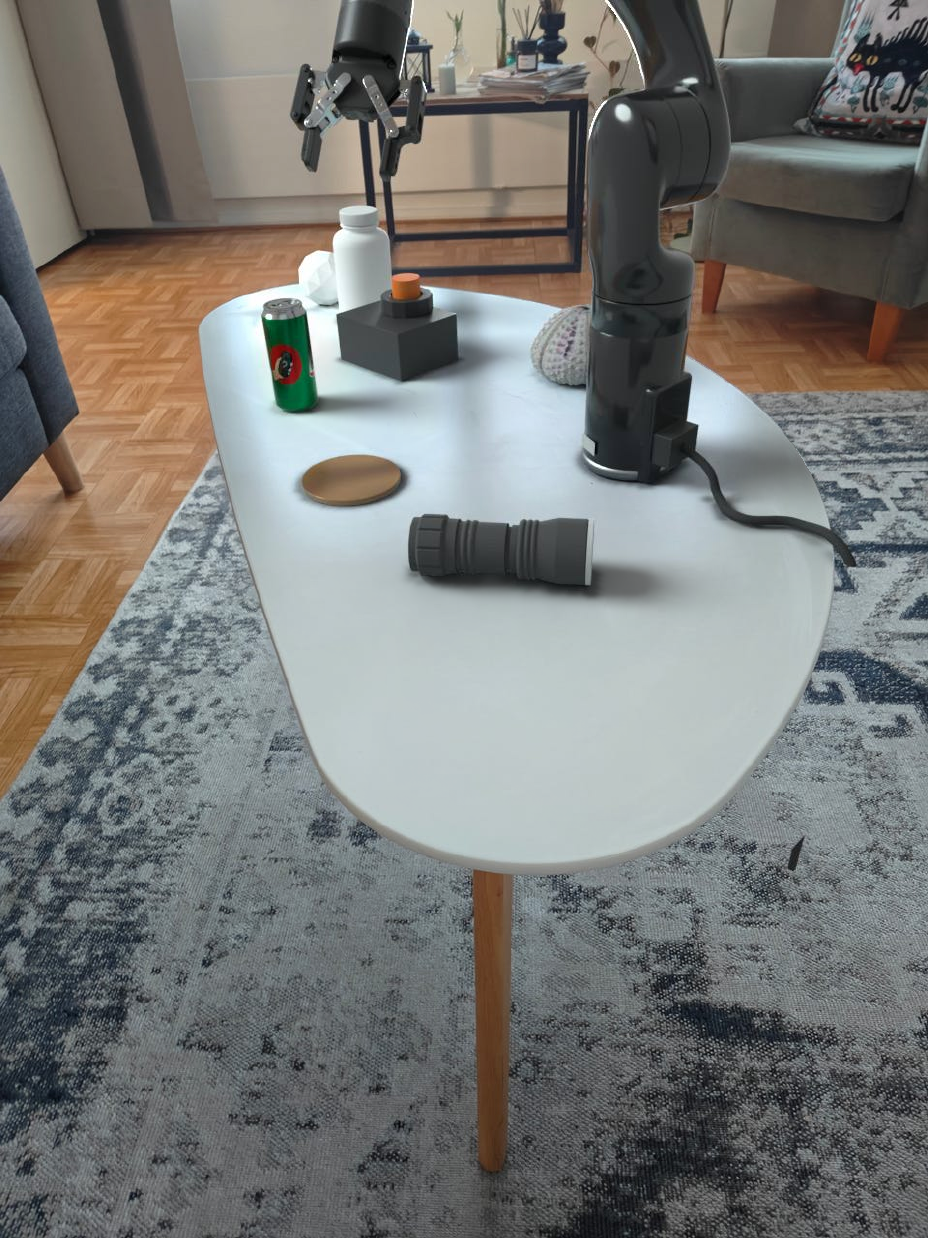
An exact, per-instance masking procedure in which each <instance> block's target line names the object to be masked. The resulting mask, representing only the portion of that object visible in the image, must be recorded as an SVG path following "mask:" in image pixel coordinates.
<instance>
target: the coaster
mask: <svg viewBox="0 0 928 1238" xmlns="http://www.w3.org/2000/svg"><path fill="white" fill-rule="evenodd" d="M300 481H301V483H300V484H301V489H302V492H303V494H305V496H307V498H309V499H311V500H313V501H315V502H316V503H319V504H324V505H329V506H337V507H338V506H339V507H348V506H349V507H350V506H359V505H360V506H361V505H366V504H370V503H373V502H376V501H379V500H381V499H383V498H385V497H388V496H389V495H391V494H393V493H394V492H395V491H396V490H397V489H398V487H399V486H400V485H401V481H402V473H401V470H400V468H399V467H398V465H397V464H396V463H395V462H393V461H391V460H390V459H387V458H385V457H381V456H378V455H370V454H347V455H339V456H335V457H331V458H328V459H324V460H322V461H319V462H318V463H315V464H313V465H312V466H311V467H309V468H308V469H307V470H306V471H305V472H304V473H303V475H302V477H301V480H300Z"/></svg>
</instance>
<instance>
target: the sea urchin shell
mask: <svg viewBox="0 0 928 1238" xmlns="http://www.w3.org/2000/svg"><path fill="white" fill-rule="evenodd" d="M590 310H591V303H590V304H589V303H585V304H583V303H582V304H580V305H579V304H578V305H572V306H567V307H565V308H563V309H561V310H559V311H558V312H556V313H554V314H553V316H552V317H549V318H548V320H547V322H545V323H543V326H542V328H541V329H539V332H538V334H537V335H536V337H534V339H533V342H532V343H531V347H530V350H529V351H530V355H529V356H530V358H531V363H532V367H533V368H534V369H535V371H536V373H540V375H541V376H542V377H543V378H547V379H549V380H550V381H551V382H554V383H558V384H559V385H560V384H562V385H566V384H567V385H569V386H573V385H574V386H579V385H586V386H587V367H588V347H589V328H590Z"/></svg>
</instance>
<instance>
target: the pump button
mask: <svg viewBox="0 0 928 1238" xmlns="http://www.w3.org/2000/svg"><path fill="white" fill-rule="evenodd" d="M391 283H392V296H393V298H395V299H404V300H406V299H415V298H418V297H421V292H420V287H421V277H420V275H419V274H417V273H411V272H403V273H396V274H394V275H392V277H391Z"/></svg>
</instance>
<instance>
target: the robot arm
mask: <svg viewBox="0 0 928 1238" xmlns="http://www.w3.org/2000/svg"><path fill="white" fill-rule="evenodd" d="M605 2H606V3H607V4H608V6H609V7H610V8H611V10H612V11H613V12H614V14H615V15H616V17H617V18H618V20H619V22H620V23H621V24H622V26H623V28H624V30H625V31H626V33H627V35H628V37H629V39H630V42H631V44H632V47H633V49H634V52H635V54H636V58H637V61H638V64H639V69H640V73H641V77H642V81H643V85H644V89H637V90H632V91H631V90H630V91H624V92H619V93H618V94H613V95H612V96H610V97H609V98H607V99H606V100H605V101H604V102H603V103H602V104H601V106H600V107H599V108H598V110H597V111H596V113H595V116H594V118H593V121H592V123H591V127H590V129H589V135H588V141H587V148H586V161H585V189H586V190H585V192H586V193H585V195H586V196H585V198H586V199H585V201H586V206H585V209H586V212H585V213H586V217H585V218H586V219H585V220H586V228H585V230H586V233H585V235H586V237H585V238H586V239H585V241H586V242H585V243H586V252H587V258H588V262H589V267H590V273H591V292H590V304H591V310H590V328H589V347H588V367H587V385H586V387H585V388H586V389H585V407H584V408H585V409H584V428H583V429H584V430H583V432H584V433H582V436H581V437H582V439H581V441H582V442H581V447H582V451H581V461H582V463H583V465H584V466H585V467H586V468H587V469H588V470H590V471H591V472H593V473H595V474H596V475H598V476H601V477H605V478H609V479H613V480H620V481H638V482H641V483H643V484H649V483H651V482H654V480H656V479H658V478H660V477H661V476H662V475H665V474H667V473H668V472H669V471H671V470H673V469H675V468H676V467H678V466H680V465H682V464H683V461H685V460H686V459H688V458H689V459H690V460H691V461H693V462H694V464H696V465H697V466H698V467H699V468H700V469H701V470H702V471H703V473H704V474H705V476H706V477H707V479H708V482H709V486H710V492H711V494H712V497H713V499H714V500H715V502H716V504H717V506H718V508H719V509H720V511H721V513H722V514H723V515H724V516H725V517H727V518H728V519H731V520H733V521H735V522H737V523H741V524H743V525H750V526H786V527H790V528H794V529H798V530H801V531H805V532H808V533H811V534H814V535H816V536H819V537H821V538H823V539H825V540H826V541H827V542H829V544H831V546H833V548H834V549H835V550H836V551H837V553H838V555H839V556H840V558H841V560H842V562H843V564H844V565H845V566H847V567H849V568H857V567H858V564H857V561H856V559H855V557H854V555H853V553H852V551H851V550H850V548H849V547H848V545H847V543H846V542H845V541H844V540H843V538H841V537H840V536H839V535H838V534H837V533H836V532H835V531H833V530H831V528H828V527H826V526H824V525H822V524H818V523H814V522H811V521H809V520H808V521H807V520H804V519H801V518H798V517H793V516H788V515H751V514H746V513H743V512H741V511H738V510H736V509H734V508H733V507H731V505H730V504H729V503H728V501H727V499H726V498H725V495H724V494H723V492H722V489H721V485H720V479H719V476H718V474H717V472H716V470H715V468H714V467H713V466H712V465H711V463H709V461H708V460H707V459H706V457H704V456H703V455H702V454H700V453H699V452H698V451H696V448H697V442H698V434H699V426H700V425H699V424H698V423H695V422H691V421H688V415H689V408H690V407H689V406H690V401H691V400H690V399H691V392H692V391H691V390H692V383H693V375H692V373H690V372H688V371H685V368H686V367H685V366H686V357H687V349H688V341H689V332H690V331H689V330H690V323H691V314H692V306H693V296H694V289H695V281H696V263H695V260H694V259H693V257H692V256H691V255H690V254H688V252H685V251H683V250H680V249H678V248H674V247H671V246H668V245H663V244H662V243H661V233H660V232H661V231H660V224H661V223H660V222H661V221H660V215H661V213H660V211H663V210H669V209H673V208H680V207H685V206H690V205H693V204H698V203H701V202H703V201H706V200H708V199H710V198H711V197H712V196H713V195H715V193H716V192H718V191H719V189H720V187H721V186H722V184H723V182H724V181H725V178H726V175H727V172H728V169H729V166H730V160H731V150H732V143H731V142H732V140H731V138H732V137H731V123H730V118H729V113H728V112H729V111H728V108H727V103H726V99H725V95H724V90H723V87H722V84H721V80H720V76H719V72H718V69H717V66H716V61H715V58H714V54H713V51H712V47H711V43H710V40H709V37H708V32H707V29H706V26H705V25H706V24H705V22H704V18H703V14H702V10H701V5H700V1H699V0H605ZM413 9H414V0H341V1H340V5H339V12H338V17H337V23H336V28H335V35H334V40H333V46H332V53H331V62H330V65H329V66H328V67H327V69H326V71H322V70H317V69H313V68H312V67H311V65H310V64H309V63H303V64H302V65H301V66H300V68H299V73H298V76H297V81H296V85H295V89H294V93H293V98H292V103H291V106H290V111H289V118H290V119H291V120H292V122H293V123H294V124H295V127H296V128H297V129H298V130H299V131H301V132H304V134H303V138H302V144H301V149H300V160H301V161H302V163H303V164H304V167H305V168H306V170H307V171H308V172H310V173H317V171H318V167H319V161H320V157H321V148H322V144H323V138H322V136H323V135H324V134H325V133H326V132H327V131H328V130H329V129H330V128H331V127H335V126H336V125H337V124H339V122H340V121H342V119H343V118H345V119H346V120H347V121H357V120H362V121H364V122H366V123H374V121H376V120H379V119H380V120H381V123H382V125H383V127H384V129H385V130H386V132H387V134H388V136H387V137H384V140H383V147H382V153H381V158H380V162H379V169H378V174H379V175H378V176H379V177H380V178H381V180H382V182H388V183H389V182H391V179H392V177H394V178H395V177H396V175H397V174H398V169H399V164H400V158H401V152H402V149H403V147H404V146H405V145H408V144H413V145H418V144H420V143H421V142H422V137H423V128H424V119H425V112H426V103H427V97H428V96H427V95H428V90H427V89H426V86H425V83H424V81H423V78H422V77H421V76H420V75H414V76H413V77H412V78H411V79H401V74H402V70H403V64H404V61H405V60H404V59H405V55H406V48H407V42H408V38H409V33H410V29H411V26H412V20H413V19H412V15H413ZM324 86H326V88H327V91H326V92H325V93H324V94H323V95H322V96H321V98H319V100H318V101H317V103H316V107H315V108H314V109H313V107H314V102H315V97H316V95H319V94H320V93H321V89H322V88H323V87H324ZM402 94H403V97H404V100H405V101H406V103H407V110H406V111H407V112H406V117H405V125H402V126H401V125H400V126H398V125H397V123H396V121H395V119H394V117H393V115H392V112H391V111H390V108H391V107H392V105H393V104H394V103H395V102H396V101H397V100H398V99H399V98H400V97H401V95H402ZM333 106H334V107H333ZM374 124H375V123H374ZM805 838H806V834H803V836H802V837H801V838H800V840H798V842H797V843H796V844H795V845H794V846H793V848H792V849H791V851H790V854H789V858H788V862H787V866H786V868H787V867H788V869H789V870H792V871H794V870H795V869H796V870H797V866H798V862H799V858H800V854H801V851H802V848H803V844H804V840H805ZM796 870H795V871H796Z"/></svg>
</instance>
